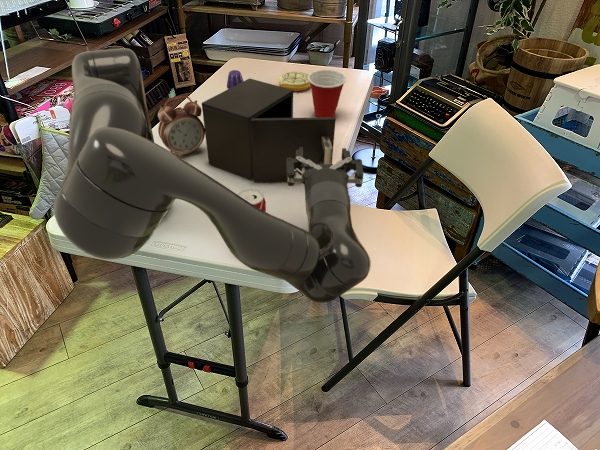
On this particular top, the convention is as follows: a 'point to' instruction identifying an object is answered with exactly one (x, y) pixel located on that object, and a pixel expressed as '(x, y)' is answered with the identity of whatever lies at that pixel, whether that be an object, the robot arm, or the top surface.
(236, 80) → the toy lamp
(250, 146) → the cabinet
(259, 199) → the soda can
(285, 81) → the decorated donut
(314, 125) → the oven door
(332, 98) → the plastic cup
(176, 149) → the alarm clock
